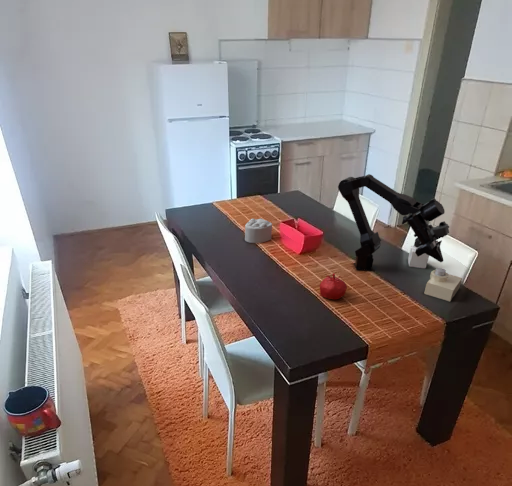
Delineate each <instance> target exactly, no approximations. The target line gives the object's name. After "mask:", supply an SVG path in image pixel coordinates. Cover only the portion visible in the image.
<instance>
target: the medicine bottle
mask: <svg viewBox="0 0 512 486" xmlns="http://www.w3.org/2000/svg"><path fill="white" fill-rule="evenodd" d="M420 243H421V242H420V241H419V239H418V238H417V237H415V239H414V243H413V245H411V246H410V250H409V254H408V258H407V262H408V267H409V268H417V269H427V265H428V261H429V258H430V256H429V255H427V254H422V255H420V256H417V255H416V253H415V251H416V249H417V248H418V247H419V246H420Z"/></svg>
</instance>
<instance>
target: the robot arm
mask: <svg viewBox="0 0 512 486" xmlns="http://www.w3.org/2000/svg"><path fill="white" fill-rule="evenodd" d="M364 187H365V188H367V189H369V190H370V191H372V192H373V193H374V194H376V195H378V196H379V197H381V199H383V200H385V201H387V202H388V203H390V205H391V206H392V208H393V209H394V210H395V211H396V212H397V213H398V214H399V215H401V216H403V217H402V221H401V225H404V224H406V223H408V225H409V227H410V228H411V230H412V232H413V233H414V234H413V237H414V238H418V239H419V241H420V242H421V243H420V246H419V247H418V248H417V249H416V251H415V253H416V255H417V256H420V255H422V254H427V255H429V257H431V258H432V259H434V260H436V261H438V262H439V263H443V262H444V257H443V253H442V249H441V245H442V242H443V240H442V239H441V238H444V237H446V236H448V235H449V234H450V225H449V224H448V223H447V222H446V221H440V222H439V223H438V225H436V226H433V225H432V224H429V223H428V222H433V221H434V220H436V219H437V218H439V217H441V216H443V215H445V207H444V206H443V204H442V203H440V201H438V200H437V199H436V198H435V197H433V198H431V199H430V200H429V201H428V202H426V203H422V202H420V201H417V200H416V199H415V198H414V197H412V196H409V195H407V194H406V193H405V194H404V193H400V192H398V191H396V190H394V189H393V188H391V187H390V186H389V185H386V184H385V183H384V182H382V181H380V180H379V179H378V178H376V177H374V175H372V174H370V173H368V174H366V175H362V176H357V177H354V176H347V177H345V178H344V179H342V180H340V181H339V183H338V186H337V189H338V191H339V193H340V195H341V196H342V198H343V199H344V200H345V201H346V202H347V203H348V206H349V209H350V212H351V214H352V217H353V219H354V222H355V224H356V227H357V230H358V232H359V235H360V236H359V237H360V238H359V243H360V244H359V245H360V247H359V248H357V249H356V250H355V251H354V253H355V254H354V255H355V260H354V263H353V266H354V268H355V270H356V271H370V272H371V271H372V268H373V264H374V255H373V254H374V253H375V252H376V251H378V249H380V247H381V245H382V244H381V243H382V239H381V238H380V234H379V232H378V231H376V232H374V230H372V228H371V225H370V223H369V220H368V218H367V214H366V212H365V209H364V206H363V203H362V201H361V199H360V188H361V189H362V188H364ZM439 239H441V240H439Z"/></svg>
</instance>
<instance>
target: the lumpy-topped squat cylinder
mask: <svg viewBox="0 0 512 486" xmlns="http://www.w3.org/2000/svg"><path fill="white" fill-rule="evenodd" d="M272 233H273V223H272V222H270V221H269V220H266V219H264V218H257V219H256V218H250V219H249V221H248V222H246V223H245V226H244V242H246V243H250V244H261V243H266V242H268V241H271V240H272V236H273V235H272Z"/></svg>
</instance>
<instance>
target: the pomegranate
mask: <svg viewBox="0 0 512 486" xmlns="http://www.w3.org/2000/svg"><path fill="white" fill-rule="evenodd" d="M331 275H332V276H330V275H325V278H323V279H322V280H321V282H320V283H319V294H320V295H321V297H323V298H325V299H329V300H335V301H336V300H339V299H341V298H343V297H344V296H345V294H346V292H347V289H348V285H347V283H346V282H345V281H344V280H343V279H340V276H337V277H336V273H333V272H332V274H331Z"/></svg>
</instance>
